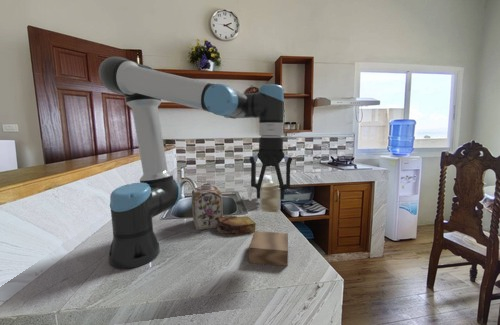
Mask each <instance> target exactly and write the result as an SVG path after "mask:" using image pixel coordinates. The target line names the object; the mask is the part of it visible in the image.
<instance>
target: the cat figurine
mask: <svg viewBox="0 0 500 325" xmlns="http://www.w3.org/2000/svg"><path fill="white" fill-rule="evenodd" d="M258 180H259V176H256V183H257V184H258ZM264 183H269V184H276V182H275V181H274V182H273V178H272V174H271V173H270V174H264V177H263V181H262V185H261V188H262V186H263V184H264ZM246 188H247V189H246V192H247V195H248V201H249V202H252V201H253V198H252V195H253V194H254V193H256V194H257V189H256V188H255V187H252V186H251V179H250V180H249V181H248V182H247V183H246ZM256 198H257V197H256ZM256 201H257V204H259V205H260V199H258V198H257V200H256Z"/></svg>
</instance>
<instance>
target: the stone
mask: <svg viewBox="0 0 500 325" xmlns="http://www.w3.org/2000/svg"><path fill="white" fill-rule="evenodd" d="M217 225H218V226H217V227H216V231H217V232H218V233H220V234H221V233H222V234H229V235H230V234H235V235H241V234H246V233H247V234H248V232H249V233H254V231H256V222H254V220H253V219H252V218H251V217H249V216H235V215H223V217H222V216H220V217H218V219H217Z"/></svg>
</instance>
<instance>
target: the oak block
mask: <svg viewBox="0 0 500 325" xmlns="http://www.w3.org/2000/svg"><path fill="white" fill-rule="evenodd" d="M278 188H280V185H279V183H275V184H274V183H273V184H269V183H264V184H263V186H262V209H261V212H267V213H278V212H279V210H278Z"/></svg>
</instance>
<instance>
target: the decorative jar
mask: <svg viewBox="0 0 500 325" xmlns="http://www.w3.org/2000/svg"><path fill="white" fill-rule="evenodd" d="M191 205H192V206H191V207H192V221H193V223H194V226H195V229H196V230H197V231H198V230H204V229H212V228H217V226H218V225H217V219H218V217H220V216H222V217H224V213H223V212H224V211H223V208H224V207H223V194H222V192H221V189H220V187H218V186H215V185H213V184H212V183H211V182H210V183H209V182H205V183H202V184H200V186H197V187H195V188H193V189H192V191H191Z"/></svg>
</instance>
